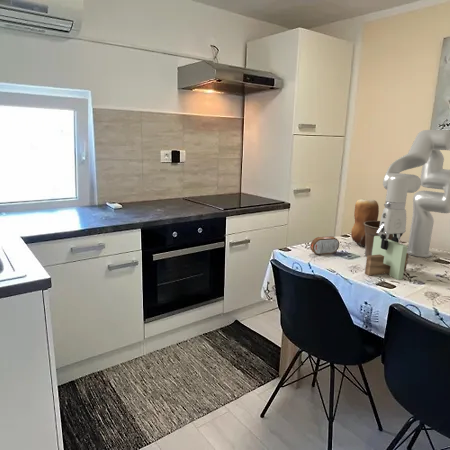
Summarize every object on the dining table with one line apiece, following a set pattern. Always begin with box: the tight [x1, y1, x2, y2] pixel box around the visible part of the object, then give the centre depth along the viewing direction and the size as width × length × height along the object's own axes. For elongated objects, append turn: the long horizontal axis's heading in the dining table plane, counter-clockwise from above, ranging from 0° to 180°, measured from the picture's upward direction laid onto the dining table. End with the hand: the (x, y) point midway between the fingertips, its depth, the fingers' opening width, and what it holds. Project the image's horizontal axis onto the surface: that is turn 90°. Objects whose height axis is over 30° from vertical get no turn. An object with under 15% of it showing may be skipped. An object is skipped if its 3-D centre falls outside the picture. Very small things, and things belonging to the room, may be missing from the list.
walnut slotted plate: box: [364, 253, 409, 277], centre depth 157 cm, size 2×20×8 cm, turn 111°
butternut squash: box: [350, 198, 380, 247], centre depth 194 cm, size 14×13×25 cm
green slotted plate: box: [372, 236, 408, 280], centre depth 156 cm, size 16×2×14 cm, turn 20°
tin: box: [310, 235, 340, 255], centre depth 180 cm, size 15×3×8 cm, turn 108°
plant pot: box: [364, 220, 393, 257], centre depth 177 cm, size 16×16×16 cm
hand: (389, 248), depth 155 cm, fingers open, 4 cm apart
